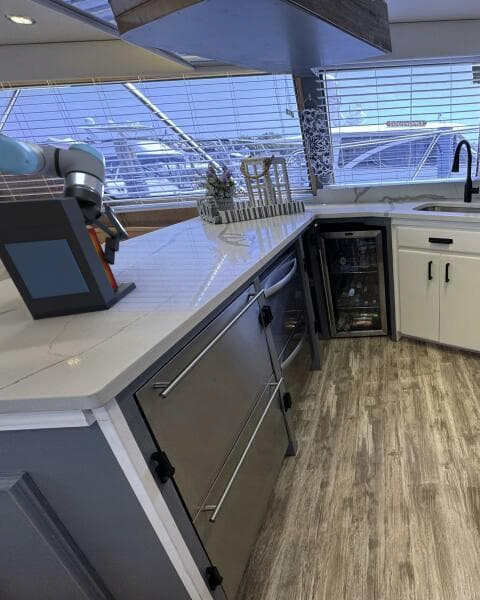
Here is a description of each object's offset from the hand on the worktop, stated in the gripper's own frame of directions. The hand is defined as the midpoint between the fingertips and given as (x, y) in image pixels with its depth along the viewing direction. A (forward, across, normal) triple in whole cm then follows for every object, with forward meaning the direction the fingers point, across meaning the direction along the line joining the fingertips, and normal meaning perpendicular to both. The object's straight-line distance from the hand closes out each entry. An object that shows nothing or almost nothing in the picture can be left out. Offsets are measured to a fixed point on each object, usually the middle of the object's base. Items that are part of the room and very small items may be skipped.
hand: (75, 265), depth 78 cm
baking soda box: (+4, 0, -7) cm, 8 cm away
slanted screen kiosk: (+7, 0, -6) cm, 9 cm away
